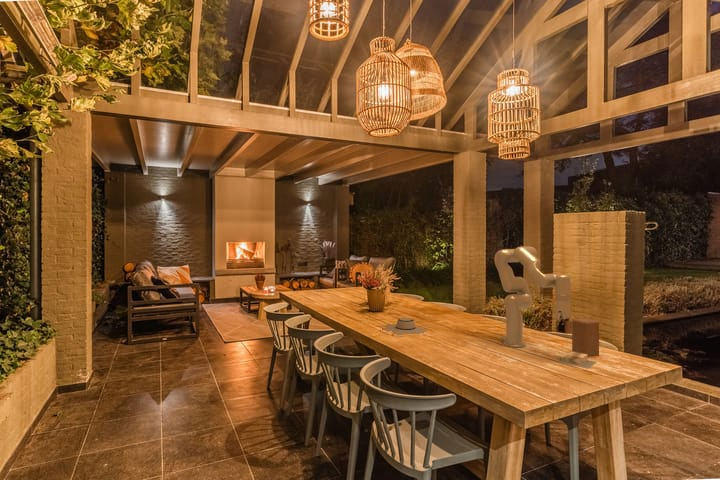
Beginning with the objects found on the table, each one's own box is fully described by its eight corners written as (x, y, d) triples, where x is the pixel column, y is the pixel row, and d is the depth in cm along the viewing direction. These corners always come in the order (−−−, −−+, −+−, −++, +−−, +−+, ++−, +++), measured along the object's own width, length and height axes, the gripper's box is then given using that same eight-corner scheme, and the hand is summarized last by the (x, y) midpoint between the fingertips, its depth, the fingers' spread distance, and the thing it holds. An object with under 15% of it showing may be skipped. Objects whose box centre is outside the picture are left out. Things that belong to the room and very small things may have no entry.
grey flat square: (556, 363, 210) (556, 362, 210) (566, 357, 221) (566, 356, 221) (588, 370, 200) (588, 368, 200) (597, 363, 210) (596, 361, 210)
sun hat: (370, 331, 290) (370, 318, 290) (404, 324, 313) (404, 312, 313) (406, 340, 262) (406, 326, 262) (441, 332, 285) (441, 319, 285)
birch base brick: (566, 362, 210) (566, 354, 210) (571, 358, 216) (571, 351, 216) (582, 365, 205) (582, 357, 205) (587, 361, 210) (587, 354, 210)
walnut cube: (555, 332, 215) (555, 320, 215) (560, 330, 219) (559, 319, 219) (567, 333, 210) (567, 322, 211) (571, 331, 215) (571, 320, 215)
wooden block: (585, 358, 219) (585, 322, 219) (571, 353, 228) (571, 318, 228) (600, 357, 221) (599, 321, 221) (585, 352, 231) (585, 317, 231)
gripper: (561, 295, 224) (562, 327, 223) (549, 298, 212) (550, 332, 211) (576, 296, 218) (576, 329, 218) (564, 300, 206) (565, 334, 206)
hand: (563, 330), depth 215 cm, fingers closed on walnut cube, 6 cm apart
